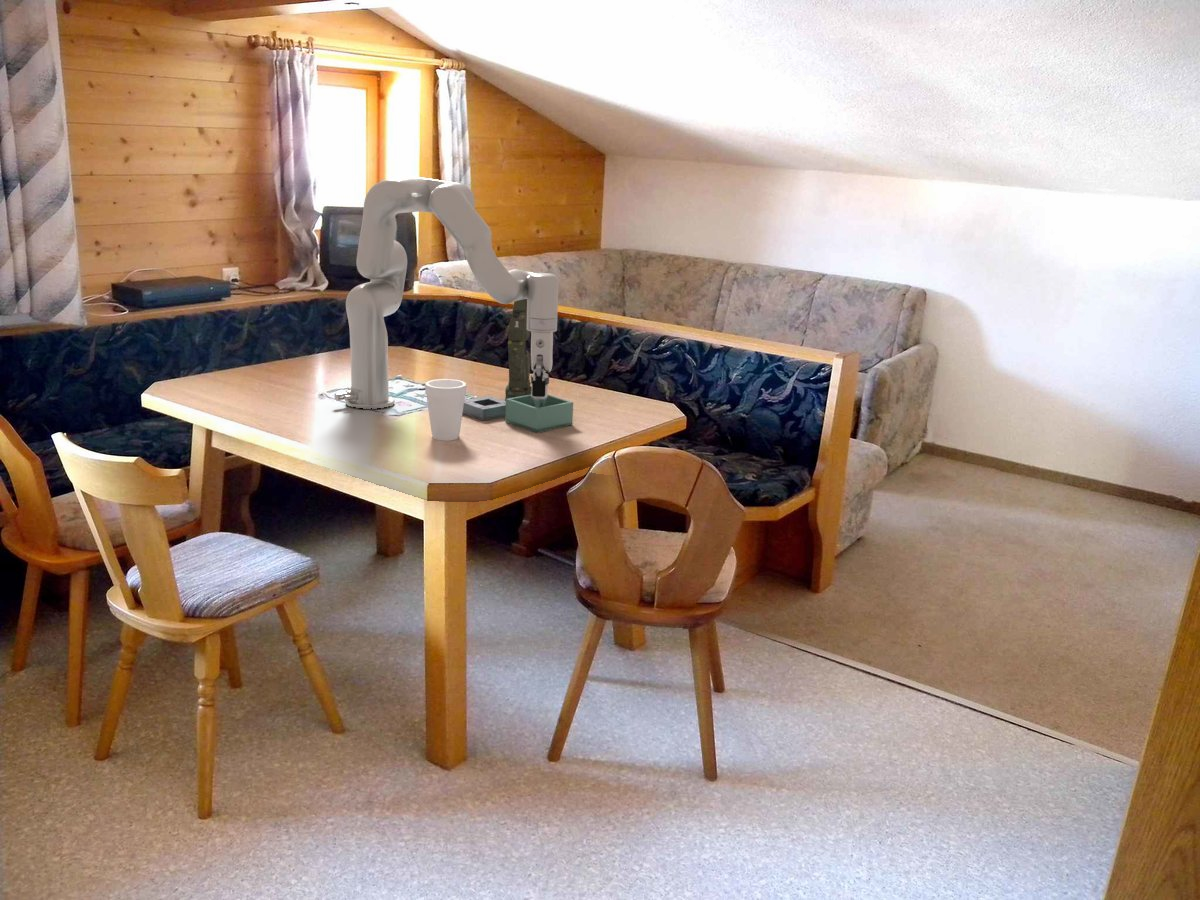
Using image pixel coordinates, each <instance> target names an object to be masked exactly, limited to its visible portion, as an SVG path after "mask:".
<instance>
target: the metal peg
mask: <svg viewBox="0 0 1200 900" xmlns="http://www.w3.org/2000/svg"><path fill="white" fill-rule="evenodd" d="M533 375H534V372H533V373H531V375H530V383H531V385H532V380H533ZM545 381H546V385H545V397H535V396H531V406H533V407H536V408H540V407H545V406H547V394H548V393H549V392H548V390H549V389H548V387H549V386H548V385H549V384H550V376H549V374H547V373H545ZM548 395H549V394H548Z"/></svg>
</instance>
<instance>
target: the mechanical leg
mask: <svg viewBox="0 0 1200 900" xmlns="http://www.w3.org/2000/svg"><path fill="white" fill-rule="evenodd" d="M511 313H512V314H511V318H510V319H509V324H508V335H507V337H508V338H507V339H508V341H507V351H508V384H507V386H506V388H505V394H504V395H505V397H504V398H505V399H504V401H506V399H508V398H514V397H520V396H525V395H531V394H532V384H531V378H530V377H531V375H530V374H531V372H530V371H531V356H530V355H529V354H528V353H527V352H526V341H528V340H529V339H530V338H531V331H528V330H527V299H522V300H519V301H515V302H513V307H512V312H511Z"/></svg>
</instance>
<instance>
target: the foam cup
mask: <svg viewBox="0 0 1200 900" xmlns="http://www.w3.org/2000/svg"><path fill="white" fill-rule="evenodd" d="M424 386H425V389H424V390H425V391H424V393H425V394H426V402H427V409H428V414H429V415H428V416H429V417H428V418H429V422H430V423H429V424H430V430H431V435H432V436H431V437H432V439H433V440H436V441H437V440H438V441H445V442H446V441H455V440H458V439H460V438H459V437H460V434H461V426H462V420H463V419H462V418H463V414H462V413H463V406H464V400H466V399H465V398H466V394H467V383H466V381H463V380H459V379H451V378H449V379H448V378H438V379H431V380H429V381H426V382H425V385H424Z"/></svg>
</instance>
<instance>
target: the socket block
mask: <svg viewBox="0 0 1200 900" xmlns="http://www.w3.org/2000/svg"><path fill="white" fill-rule="evenodd" d="M462 415H466V416H468V417H470V418H474V419H477V420H480V421H482V422H484V421H491V420H494V419H498V418H499V419H501V418H506V401H505V399H504V400H503V399H501V398H498V397H495V396H491V395H487V396H482V397H477V398H470V399H464V406H463V413H462Z"/></svg>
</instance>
